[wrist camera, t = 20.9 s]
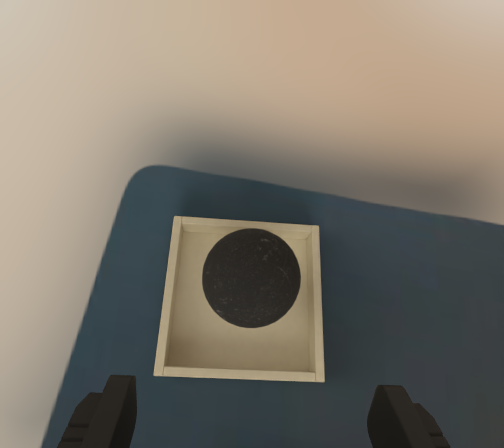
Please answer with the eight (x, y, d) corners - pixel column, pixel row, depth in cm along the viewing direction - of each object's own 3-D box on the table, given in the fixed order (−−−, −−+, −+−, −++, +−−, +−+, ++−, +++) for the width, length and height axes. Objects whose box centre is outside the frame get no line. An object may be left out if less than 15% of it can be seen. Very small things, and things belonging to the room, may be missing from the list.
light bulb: (215, 256, 28) (214, 201, 19) (285, 272, 28) (318, 224, 19) (197, 329, 26) (186, 307, 17) (272, 346, 26) (303, 333, 17)
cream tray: (158, 375, 25) (153, 375, 23) (177, 226, 29) (173, 215, 27) (316, 381, 26) (324, 382, 24) (311, 235, 30) (319, 225, 28)
